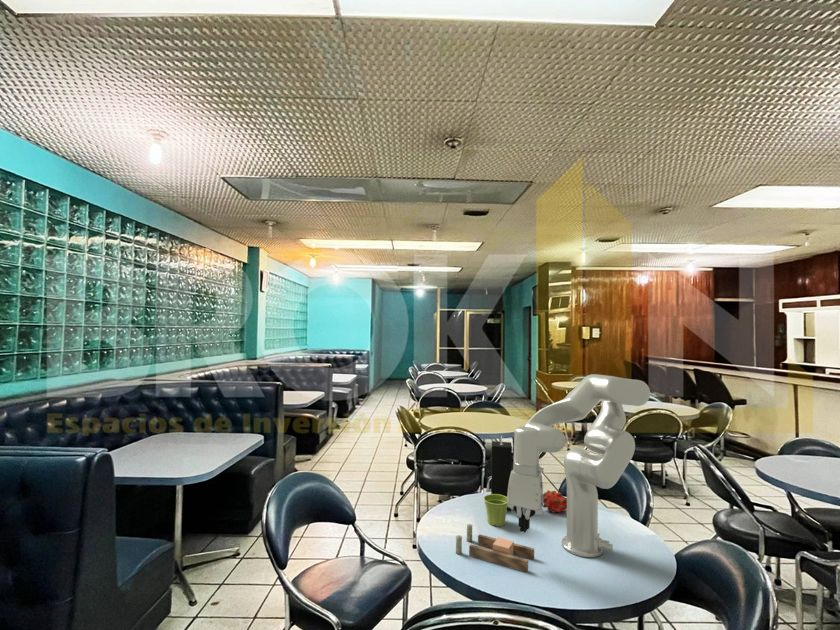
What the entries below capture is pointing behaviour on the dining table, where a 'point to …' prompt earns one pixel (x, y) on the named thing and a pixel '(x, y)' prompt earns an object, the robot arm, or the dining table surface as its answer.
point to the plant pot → (496, 509)
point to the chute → (494, 555)
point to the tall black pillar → (501, 467)
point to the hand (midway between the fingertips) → (523, 530)
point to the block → (503, 546)
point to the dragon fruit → (554, 501)
